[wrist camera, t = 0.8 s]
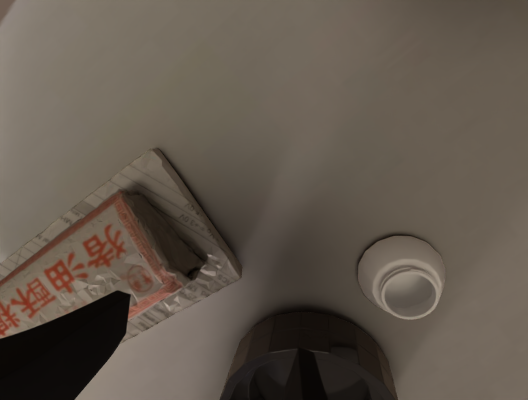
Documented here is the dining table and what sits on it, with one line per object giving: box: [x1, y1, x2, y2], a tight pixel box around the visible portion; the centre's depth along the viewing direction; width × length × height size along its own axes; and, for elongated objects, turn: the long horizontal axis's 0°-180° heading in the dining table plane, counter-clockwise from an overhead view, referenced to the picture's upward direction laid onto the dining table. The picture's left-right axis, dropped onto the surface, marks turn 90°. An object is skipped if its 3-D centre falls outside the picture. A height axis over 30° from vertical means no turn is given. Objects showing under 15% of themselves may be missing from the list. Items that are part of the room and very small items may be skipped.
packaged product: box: [0, 149, 242, 344], centre depth 22 cm, size 18×5×10 cm
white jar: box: [358, 236, 446, 320], centre depth 20 cm, size 5×3×5 cm
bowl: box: [220, 311, 398, 400], centre depth 22 cm, size 11×11×4 cm
